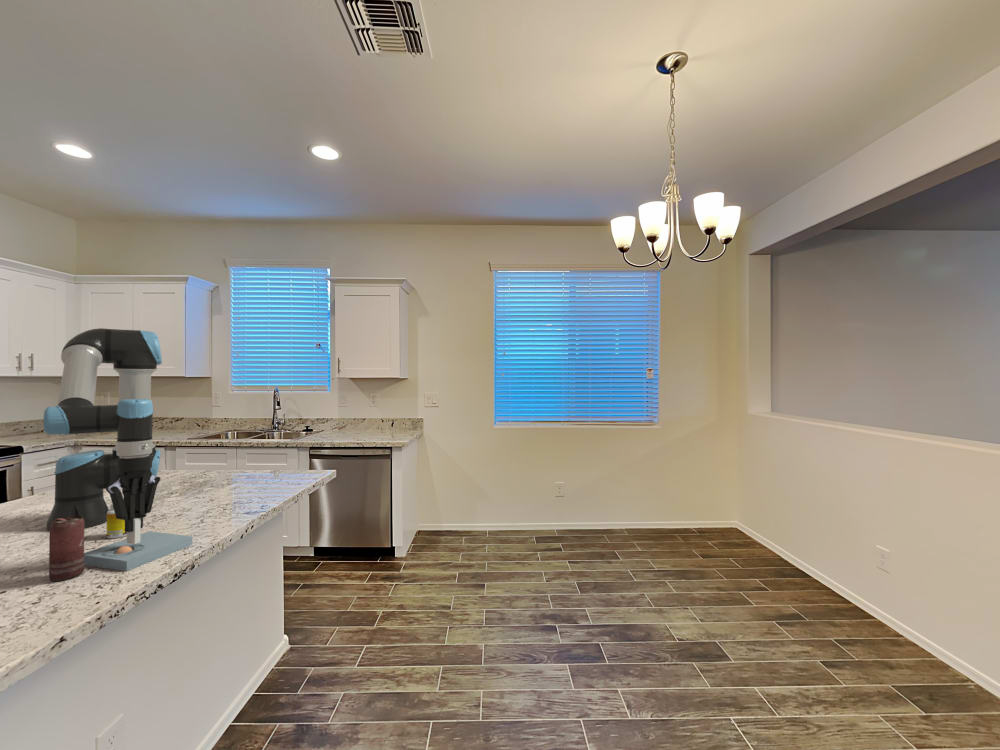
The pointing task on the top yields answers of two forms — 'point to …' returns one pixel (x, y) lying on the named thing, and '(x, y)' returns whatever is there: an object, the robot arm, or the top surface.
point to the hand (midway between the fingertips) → (133, 542)
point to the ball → (123, 550)
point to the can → (66, 548)
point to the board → (137, 551)
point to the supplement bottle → (115, 525)
